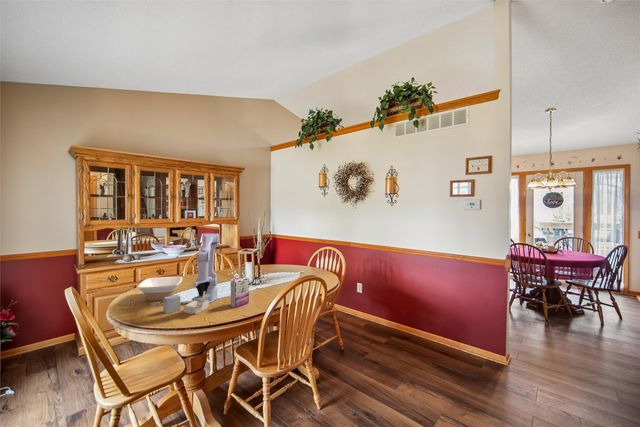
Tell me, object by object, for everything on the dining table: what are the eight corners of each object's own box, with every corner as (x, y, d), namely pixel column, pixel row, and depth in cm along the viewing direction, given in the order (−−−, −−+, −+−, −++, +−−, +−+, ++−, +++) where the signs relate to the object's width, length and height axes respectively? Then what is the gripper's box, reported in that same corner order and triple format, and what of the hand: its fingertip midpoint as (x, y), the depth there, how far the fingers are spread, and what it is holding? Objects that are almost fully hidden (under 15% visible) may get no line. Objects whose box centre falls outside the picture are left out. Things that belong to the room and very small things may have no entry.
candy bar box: (243, 301, 180) (244, 276, 180) (248, 303, 177) (249, 278, 177) (229, 306, 171) (230, 280, 170) (235, 308, 168) (236, 281, 167)
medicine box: (177, 308, 165) (177, 294, 165) (180, 310, 162) (180, 296, 162) (163, 312, 159) (163, 297, 159) (166, 314, 156) (166, 299, 156)
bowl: (177, 302, 175) (177, 285, 175) (133, 305, 168) (133, 287, 168) (184, 290, 198) (184, 276, 198) (146, 292, 191) (146, 277, 191)
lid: (203, 294, 166) (203, 288, 166) (211, 296, 165) (212, 289, 164) (191, 300, 156) (192, 293, 156) (201, 301, 155) (201, 294, 155)
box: (197, 305, 170) (197, 299, 170) (208, 307, 169) (208, 300, 169) (183, 312, 159) (183, 306, 159) (195, 314, 157) (195, 307, 157)
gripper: (204, 268, 168) (204, 290, 168) (188, 274, 154) (188, 298, 154) (215, 269, 166) (214, 292, 167) (199, 275, 152) (198, 299, 153)
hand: (202, 295), depth 160 cm, fingers closed on lid, 2 cm apart
